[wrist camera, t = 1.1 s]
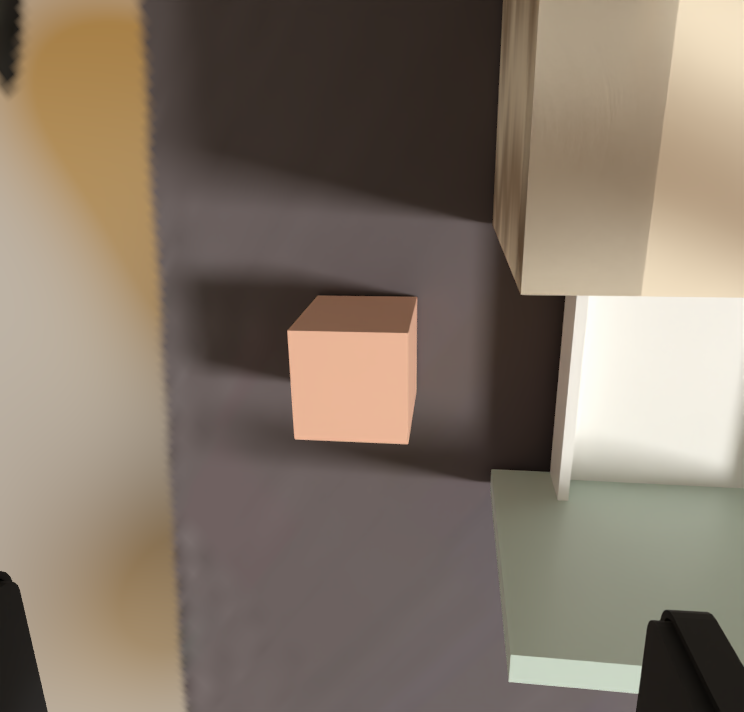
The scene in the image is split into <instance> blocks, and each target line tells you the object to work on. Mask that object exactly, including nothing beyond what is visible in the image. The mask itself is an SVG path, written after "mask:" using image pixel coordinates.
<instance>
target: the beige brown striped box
mask: <svg viewBox="0 0 744 712" xmlns="http://www.w3.org/2000/svg"><path fill="white" fill-rule="evenodd" d="M493 227H494V230H495V232H496V235H497V237H498V240H499V242H500V245H501V247H502V250H503V252H504V254H505V257H506V259H507V262H508V264H509V267H510V269H511V272H512V274H513V277H514V279H515V282H516V284H517V287H518V289H519V292H520V294H521V295H570V296H649V297H727V298H744V0H503V12H502V34H501V55H500V77H499V99H498V120H497V142H496V164H495V185H494V207H493Z"/></svg>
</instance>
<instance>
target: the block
mask: <svg viewBox="0 0 744 712" xmlns="http://www.w3.org/2000/svg"><path fill="white" fill-rule="evenodd" d="M287 334H288V349H289V364H290V379H291V394H292V408H293V423H294V438H295V439H299V440H322V441H345V442H368V443H391V444H408V442H409V435H410V429H411V423H412V416H413V410H414V404H415V397H416V391H417V297H395V296H320V295H318V296H317V297H316V298H315V299H314V300H313V302H312V303H311V304H310V305H309V306H308V307H307V308H306V310H305V311H304V312H303V313H302V314H301V315H300V317H299V318H298V319H297V320H296V321H295V322H294V323H293V325H292V326H291V327H290V328H289V329H288V330H287Z"/></svg>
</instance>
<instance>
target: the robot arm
mask: <svg viewBox="0 0 744 712" xmlns="http://www.w3.org/2000/svg"><path fill="white" fill-rule="evenodd" d="M0 712H47V707H46V702H45V698H44V694H43V689H42V685H41V681H40V676H39V672H38V668H37V663H36V659H35V654H34V650H33V646H32V641H31V637H30V633H29V628H28V624H27V619H26V615H25V611H24V606H23V602H22V598H21V593H20V589H19V587H18V585H17V584H16V583H14V582H12V580H11V577H10V576H9V575H8V574H7V573H6V572H2V571H0ZM636 712H744V666H743V664H742V663H741V661H740V659H739V658H738V656H737V654H736V652H735V651H734V649H733V647H732V646H731V644H730V642H729V640H728V639H727V637H726V635H725V634H724V632H723V630H722V628H721V627H720V625H719V623H718V622H717V620H716V619H715V617H714V616H713V615H712V614H711V613H709V612H700V611H683V610H664V611H663V613H662V615H661V619H660V620H650V621H649V623H648V625H647V631H646V638H645V646H644V654H643V662H642V669H641V677H640V685H639V693H638V700H637V708H636Z"/></svg>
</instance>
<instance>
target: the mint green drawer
mask: <svg viewBox="0 0 744 712" xmlns="http://www.w3.org/2000/svg"><path fill="white" fill-rule="evenodd" d="M490 491H491V501H492V512H493V522H494V533H495V543H496V554H497V564H498V575H499V585H500V596H501V606H502V617H503V627H504V638H505V648H506V659H507V669H508V680H509V682H516V683H527V684H538V685H549V686H560V687H571V688H582V689H594V690H605V691H616V692H627V693H639V685H640V677H641V669H642V662H643V654H644V646H645V638H646V631H647V625H648V623H649V621H650V620H660V619H661V615H662V613H663V611H664V610H683V611H700V612H709V613H711V614H712V615H713V616H714V617H715V619H716V620H717V622H718V623H719V625H720V627H721V628H722V630H723V632H724V634H725V635H726V637H727V639H728V640H729V642H730V644H731V646H732V647H733V649H734V651H735V652H736V654H737V656H738V658H739V659H740V661H741V663H742V664H743V666H744V298H727V297H649V296H570V295H566V297H565V308H564V319H563V331H562V342H561V353H560V365H559V376H558V387H557V399H556V410H555V421H554V432H553V444H552V455H551V466H550V472H540V471H519V470H498V469H491V485H490Z"/></svg>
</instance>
